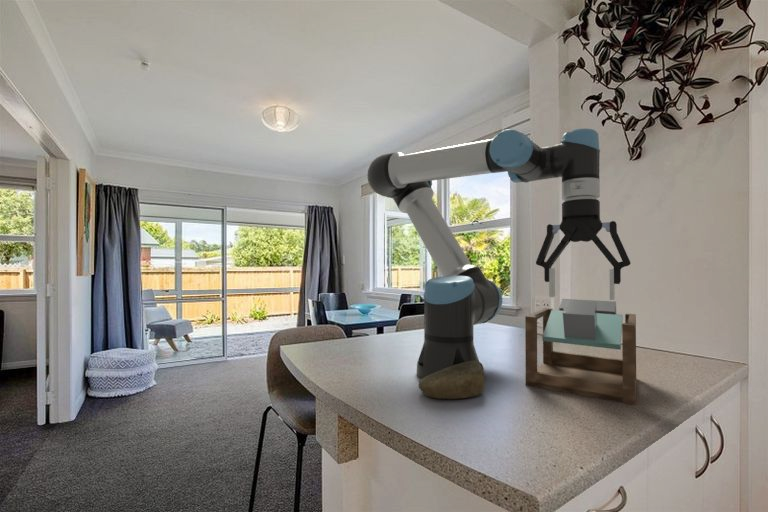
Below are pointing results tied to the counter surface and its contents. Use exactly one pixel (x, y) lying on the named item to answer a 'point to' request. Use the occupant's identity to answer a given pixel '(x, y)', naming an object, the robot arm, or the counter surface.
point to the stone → (455, 381)
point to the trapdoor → (606, 327)
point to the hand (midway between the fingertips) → (581, 297)
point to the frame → (582, 365)
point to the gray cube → (580, 319)
